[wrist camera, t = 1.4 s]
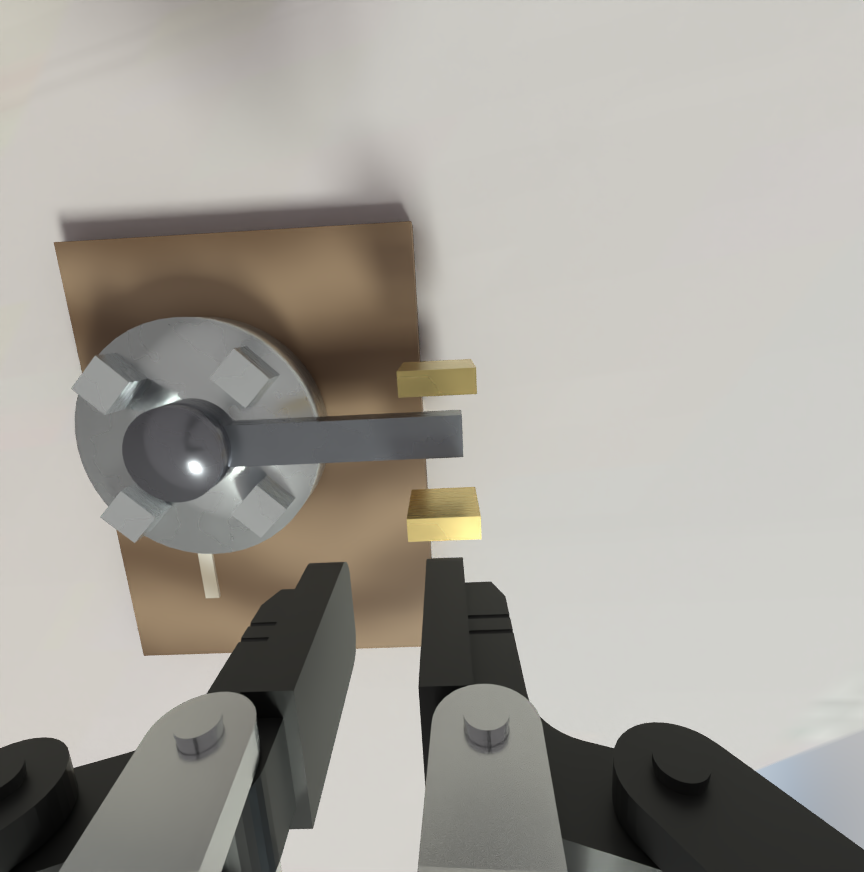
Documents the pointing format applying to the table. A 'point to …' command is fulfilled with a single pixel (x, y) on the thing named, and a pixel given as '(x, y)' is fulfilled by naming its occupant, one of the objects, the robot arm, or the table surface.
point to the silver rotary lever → (246, 436)
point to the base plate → (342, 394)
